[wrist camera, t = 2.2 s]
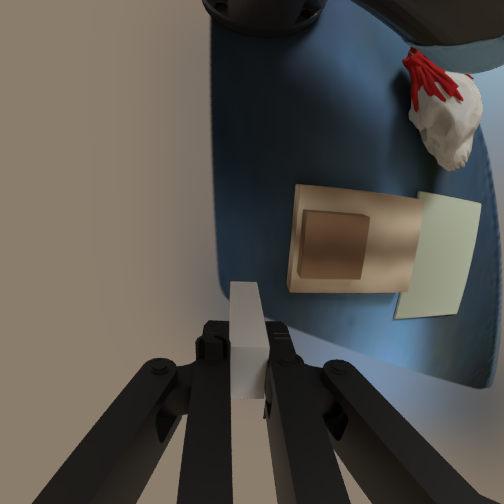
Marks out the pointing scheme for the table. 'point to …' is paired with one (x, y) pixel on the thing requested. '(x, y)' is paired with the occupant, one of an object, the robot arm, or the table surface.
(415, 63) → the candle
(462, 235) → the sage mat
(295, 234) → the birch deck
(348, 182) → the table surface
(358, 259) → the walnut tile
